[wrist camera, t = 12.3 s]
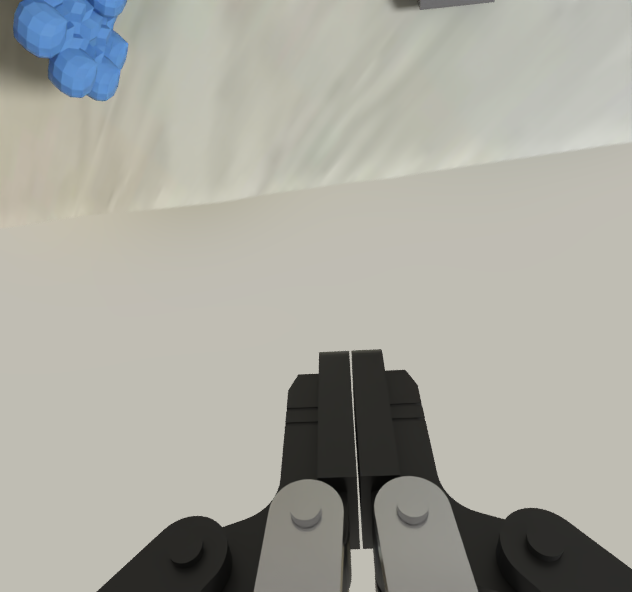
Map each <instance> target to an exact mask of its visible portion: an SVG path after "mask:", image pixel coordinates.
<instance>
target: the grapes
mask: <svg viewBox="0 0 632 592" xmlns="http://www.w3.org/2000/svg"><path fill="white" fill-rule="evenodd" d="M126 2H127V0H23V1H22V2H20V3H19V5H18V7H17V9H16V11H15V13H14V24H13V31H14V37H15V39H16V40H17V41H18V42H19V43H20V44H21V45H22V46H23V47H24V48H25V49H26V50H27V51H29V52H30V53H32V54H34V55H35V56H37V57H39V58H48V59H49V66H48V79H49V80H50V81H51V82H52V84H54V85H55V86H56V87H57V88H58V89H59V90H60V91H61V92H63V93H64V94H66V95H68V96H70V97H76V98H82V97H84V96H85V95H87V96H89V97H91V98H92V99H94V100H96V101H107V100H108V99H109V98H111V97H112V96H114V94H115V91H116V89H117V87H118V83H119V78H120V69H122V67H123V65H124V62H125V60H126V55H127V50H128V43H127V42H126V41H125V40H124V39H123V38H122V37H121V36H120V35H119V34H118V33H116V32H115V31H113V25H114V23H115V21H116V19H117V16H118V15H119V14H120V13H121V12H122V11H123V9H124V7H125V5H126Z"/></svg>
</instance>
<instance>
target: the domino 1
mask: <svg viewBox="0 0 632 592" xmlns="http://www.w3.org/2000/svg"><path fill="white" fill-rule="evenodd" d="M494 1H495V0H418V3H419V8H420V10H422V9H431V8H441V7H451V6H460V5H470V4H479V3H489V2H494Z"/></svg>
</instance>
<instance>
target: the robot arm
mask: <svg viewBox="0 0 632 592" xmlns="http://www.w3.org/2000/svg"><path fill="white" fill-rule="evenodd" d="M349 360H350V359H349V351H338V352H320V353H319V374H303V375H298V377H297V378H296V379H295V381H294V383H293V384H292V386H291V387H290V389H289V390H288V400H287V412H286V426H285V434H284V446H283V457H282V468H281V480H280V486H279V488H278V491H277V493H276V495H275V497H274V498H273V500H272V501H271V503H270V504H269V505H268V506H267V507H266V508H265V509H263V510H262V511H261V512H259V513H258V514H256V515H254V516H252V517H250V518H247V519H245V520H242V521H239V522H236V523H234V524H231V525H228V526H225V527H221V526H220V525H219V524H218V523H217V522H216V521H214V520H213V519H210V518H208V517H203V516H192V517H187V518H183V519H181V520H178V521H176V522H174V523H173V524H171V525H169V526H168V527H167V528H166V529H164V530H163V531H162V532H161V533H160V534H159V535H158V536H157V537H156V538H154V539H153V540H152V541H151V542H150V543H149V544H148V545H147V546H146V547H145V548H144V549H143V550H141V551H140V552H139V553H138V554H137V555H136V556H135V557H134V558H133V559H132V560H131V561H130V562H128V563H127V564H126V565H125V566H124V567H123V568H122V569H121V570H120V571H119V572H118V573H117V574H115V575H114V576H113V577H112V578H111V579H110V580H109V581H108V582H107V583H106V584H105V585H104V586H102V587H101V588H100V589H99V590H98V591H97V592H349V588H350V584H351V552H350V549H360V544H359V543H360V541H359V519H358V494H357V473H356V457H355V443H354V442H355V440H354V424H353V409H352V392H351V376H350V361H349ZM352 374H353V397H354V415H355V432H356V447H357V462H358V478H359V493H360V507H361V508H360V509H361V524H362V540H363V549H367V548H368V549H369V548H370V549H372V548H373V553H374V564H375V588H376V592H632V569H631V568H629V567H628V566H627V565H625V564H624V563H623V562H621V561H620V560H619V559H617V558H616V557H615V556H613V555H612V554H611V553H609V552H608V551H607V550H605V549H604V548H603V547H601V546H600V545H599V544H597V543H596V542H595V541H593V540H592V539H591V538H589V537H588V536H586V535H585V534H584V533H582V532H581V531H580V530H579V529H577V528H576V527H575V526H573V525H572V524H570V523H569V522H568V521H566V520H565V519H563V518H562V517H560V516H558V515H556V514H554V513H552V512H549V511H547V510H543V509H538V508H524V509H520V510H517V511H515V512H513V513H511V514H510V515H509V516H508V517H507V518H506V519H501V518H497V517H493V516H490V515H486V514H482V513H479V512H475V511H473V510H470V509H468V508H466V507H464V506H462V505H461V504H459V503H457V502H456V501H455V500H454V499H452V498H451V497H450V496H449V495H448V494H447V493H446V491H445V490H444V489H443V487H442V485H441V483H440V481H439V478H438V475H437V471H436V466H435V462H434V457H433V453H432V448H431V444H430V439H429V435H428V430H427V426H426V421H425V419H424V418H425V417H424V412H423V408H422V405H421V399H420V394H419V390H418V385H417V384H416V383H415V381H414V380H413V379H412V378H411V376H410V375H409V374H408V373H407V372H406V371H405V370H393V371H392V370H391V371H385V369H384V362H383V354H382V350H381V349H379V350H356V351H352Z"/></svg>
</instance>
